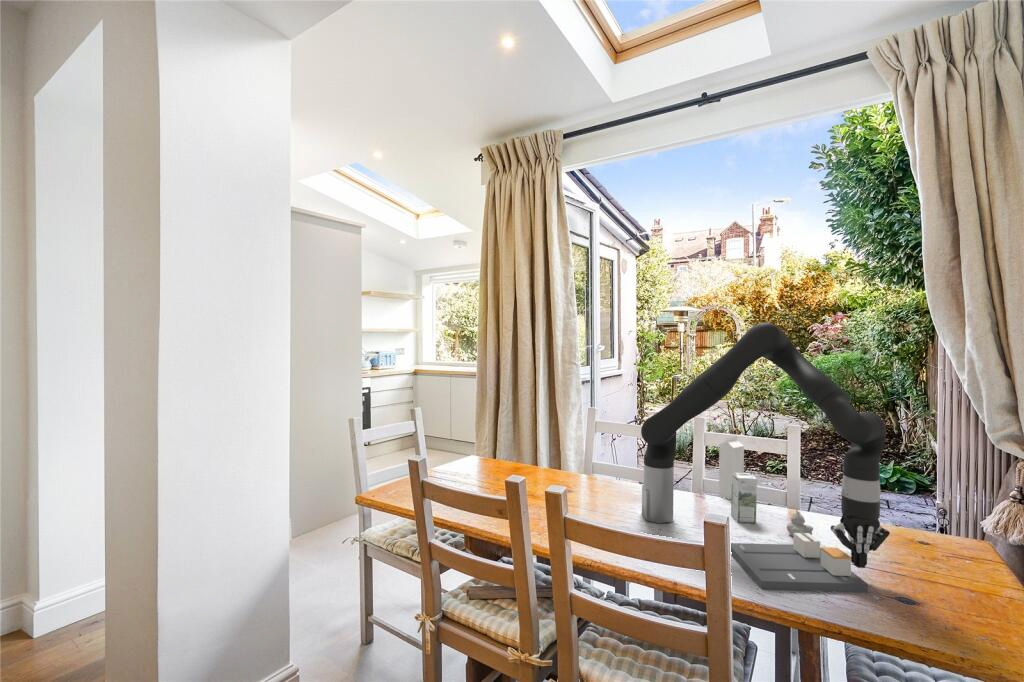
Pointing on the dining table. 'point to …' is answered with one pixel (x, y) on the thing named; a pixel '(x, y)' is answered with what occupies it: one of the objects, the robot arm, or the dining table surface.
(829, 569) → the orange fader cap
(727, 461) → the milk
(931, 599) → the dining table surface
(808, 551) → the cream cap
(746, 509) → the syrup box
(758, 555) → the fader console
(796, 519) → the grey figurine
